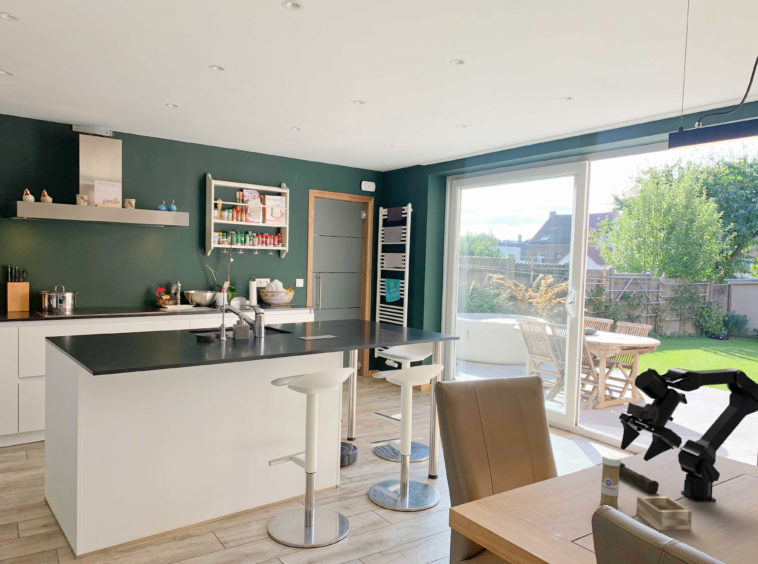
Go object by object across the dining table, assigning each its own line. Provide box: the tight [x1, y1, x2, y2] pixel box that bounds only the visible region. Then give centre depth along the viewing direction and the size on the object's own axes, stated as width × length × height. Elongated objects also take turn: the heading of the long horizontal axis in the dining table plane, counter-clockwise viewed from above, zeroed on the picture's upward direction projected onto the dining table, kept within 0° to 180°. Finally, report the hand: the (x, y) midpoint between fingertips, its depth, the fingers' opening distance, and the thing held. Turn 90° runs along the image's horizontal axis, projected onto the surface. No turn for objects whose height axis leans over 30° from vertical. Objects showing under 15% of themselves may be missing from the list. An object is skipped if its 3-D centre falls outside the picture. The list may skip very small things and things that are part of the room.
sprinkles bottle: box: [599, 453, 622, 509], centre depth 151 cm, size 5×5×13 cm
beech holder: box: [635, 496, 693, 531], centre depth 142 cm, size 9×9×4 cm
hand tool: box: [619, 462, 660, 495], centre depth 169 cm, size 19×4×5 cm, turn 15°
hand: (633, 454), depth 153 cm, fingers open, 9 cm apart
